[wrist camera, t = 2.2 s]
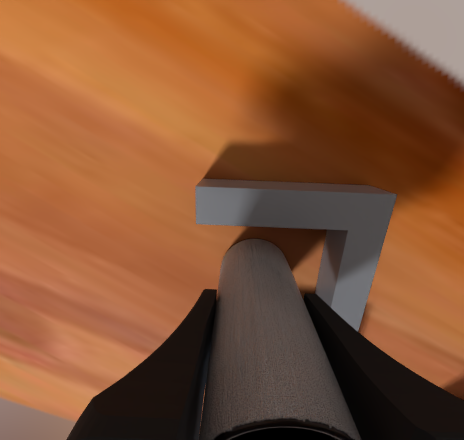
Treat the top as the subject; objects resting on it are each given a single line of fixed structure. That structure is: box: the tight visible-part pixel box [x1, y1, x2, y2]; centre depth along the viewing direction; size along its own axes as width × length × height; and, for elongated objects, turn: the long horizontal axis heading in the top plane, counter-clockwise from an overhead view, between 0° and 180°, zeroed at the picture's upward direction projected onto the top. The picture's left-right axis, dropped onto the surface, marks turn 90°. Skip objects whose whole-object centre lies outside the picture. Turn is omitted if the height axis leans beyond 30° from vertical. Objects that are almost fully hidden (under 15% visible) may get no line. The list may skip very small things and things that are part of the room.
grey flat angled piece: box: [196, 179, 397, 332], centre depth 16 cm, size 10×23×2 cm, turn 178°
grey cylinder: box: [199, 239, 361, 440], centre depth 11 cm, size 4×4×10 cm
